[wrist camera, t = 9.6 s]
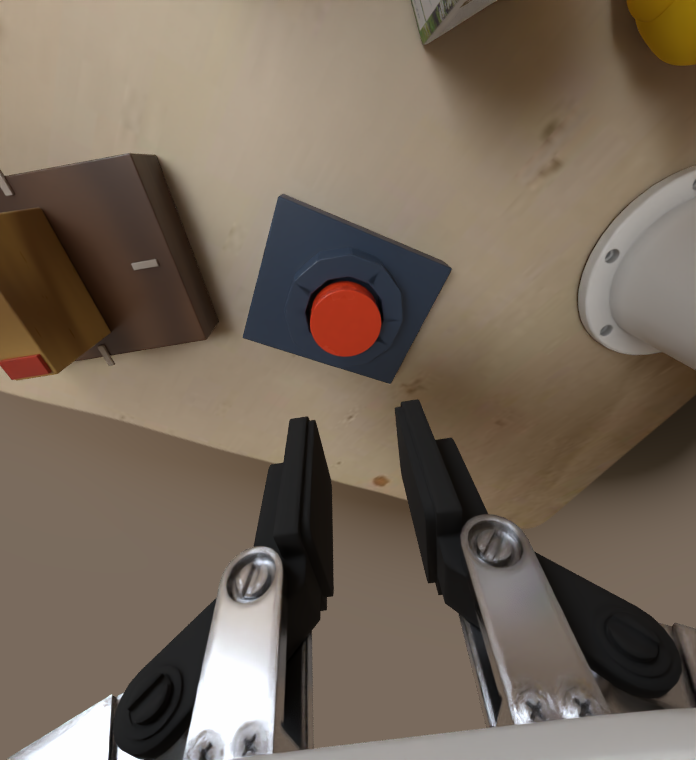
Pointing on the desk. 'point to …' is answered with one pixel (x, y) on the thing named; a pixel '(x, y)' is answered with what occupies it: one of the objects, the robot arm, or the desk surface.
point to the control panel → (122, 248)
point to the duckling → (667, 28)
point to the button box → (333, 264)
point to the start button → (345, 319)
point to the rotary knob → (41, 300)
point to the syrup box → (443, 15)
